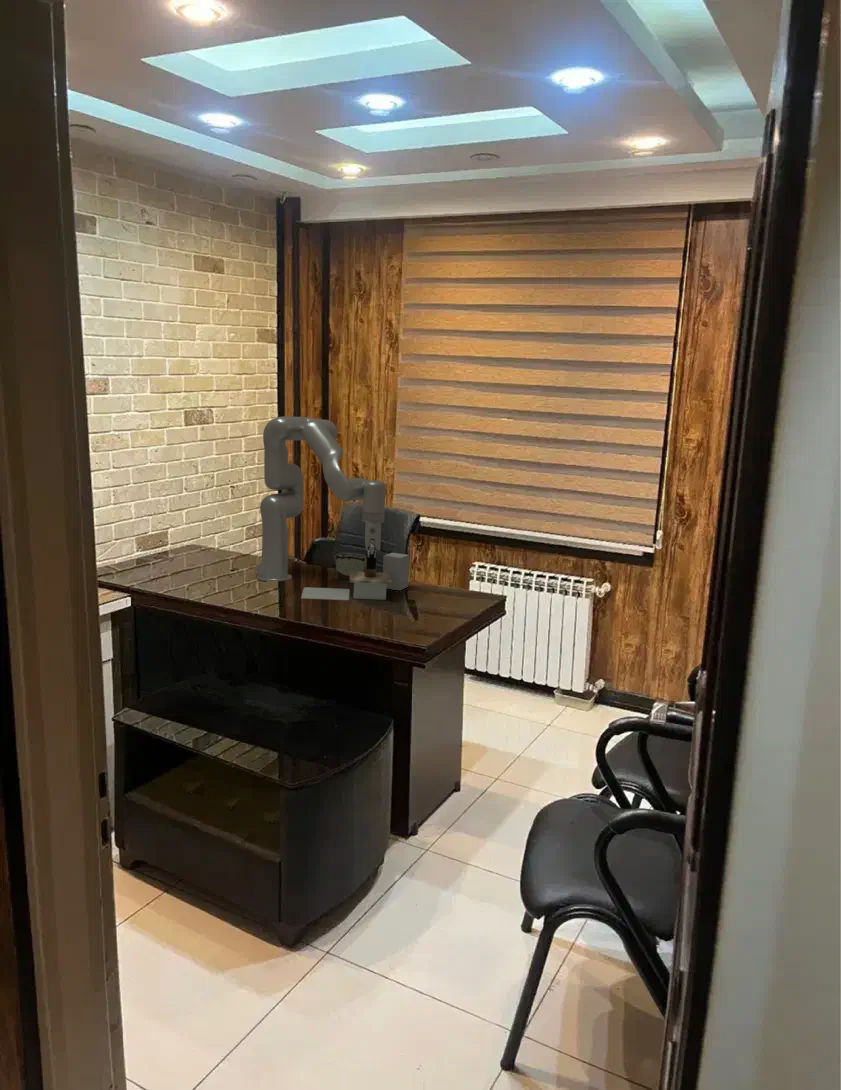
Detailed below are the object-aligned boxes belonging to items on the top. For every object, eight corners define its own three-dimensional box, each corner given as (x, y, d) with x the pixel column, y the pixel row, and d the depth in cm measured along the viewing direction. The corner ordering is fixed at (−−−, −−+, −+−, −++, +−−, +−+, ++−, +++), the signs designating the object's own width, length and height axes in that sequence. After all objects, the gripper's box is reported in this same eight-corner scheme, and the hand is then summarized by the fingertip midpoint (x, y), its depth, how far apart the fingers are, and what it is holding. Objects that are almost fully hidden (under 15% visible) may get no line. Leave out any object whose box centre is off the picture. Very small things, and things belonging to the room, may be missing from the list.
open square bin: (353, 600, 278) (354, 581, 277) (353, 592, 289) (354, 574, 288) (385, 601, 279) (386, 582, 278) (384, 593, 290) (385, 575, 288)
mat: (300, 599, 274) (301, 598, 274) (304, 588, 290) (304, 587, 290) (348, 601, 275) (348, 599, 275) (349, 590, 291) (349, 589, 291)
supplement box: (408, 588, 300) (410, 554, 298) (399, 592, 293) (401, 557, 291) (390, 585, 303) (392, 552, 301) (381, 589, 296) (383, 555, 294)
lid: (349, 582, 275) (350, 562, 274) (350, 573, 289) (350, 554, 288) (391, 583, 276) (392, 564, 275) (389, 575, 290) (390, 556, 289)
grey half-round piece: (368, 579, 311) (369, 553, 309) (365, 583, 305) (366, 556, 303) (336, 577, 312) (337, 551, 310) (333, 580, 306) (334, 554, 304)
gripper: (384, 521, 271) (382, 571, 274) (383, 514, 288) (381, 561, 291) (362, 520, 270) (359, 570, 273) (362, 513, 287) (360, 560, 290)
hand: (370, 566), depth 282 cm, fingers open, 9 cm apart
